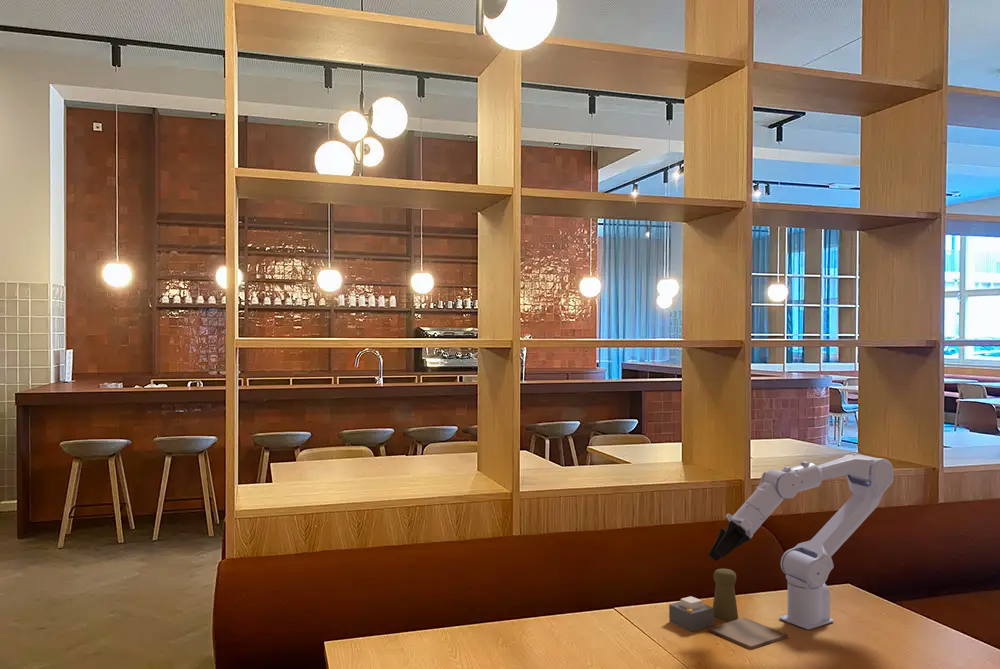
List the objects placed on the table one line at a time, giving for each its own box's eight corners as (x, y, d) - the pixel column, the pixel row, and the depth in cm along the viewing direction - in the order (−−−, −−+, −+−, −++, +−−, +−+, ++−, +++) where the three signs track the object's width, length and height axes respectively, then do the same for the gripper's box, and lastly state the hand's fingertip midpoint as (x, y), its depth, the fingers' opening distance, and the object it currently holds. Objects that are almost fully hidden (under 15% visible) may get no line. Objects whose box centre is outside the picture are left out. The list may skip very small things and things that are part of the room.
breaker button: (691, 608, 179) (691, 596, 179) (702, 613, 176) (702, 600, 176) (680, 611, 177) (680, 598, 177) (691, 616, 174) (691, 603, 174)
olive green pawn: (739, 622, 178) (739, 574, 178) (712, 620, 179) (712, 573, 179) (736, 612, 184) (736, 566, 184) (710, 611, 185) (710, 565, 185)
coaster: (744, 620, 179) (744, 617, 179) (787, 637, 169) (787, 634, 169) (707, 630, 173) (707, 628, 173) (750, 649, 162) (750, 646, 162)
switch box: (691, 615, 182) (691, 597, 182) (713, 625, 176) (713, 606, 176) (669, 621, 178) (669, 602, 178) (691, 631, 172) (691, 612, 172)
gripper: (733, 505, 182) (695, 546, 179) (747, 493, 168) (707, 538, 165) (757, 526, 180) (719, 569, 177) (773, 516, 166) (733, 562, 163)
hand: (715, 556), depth 171 cm, fingers open, 7 cm apart
